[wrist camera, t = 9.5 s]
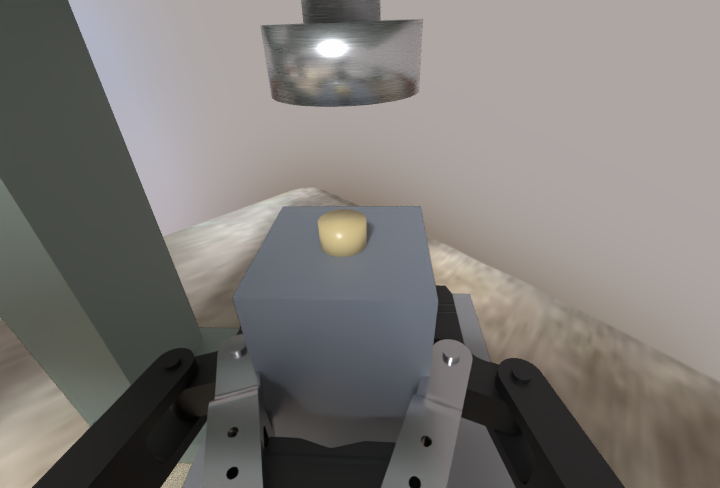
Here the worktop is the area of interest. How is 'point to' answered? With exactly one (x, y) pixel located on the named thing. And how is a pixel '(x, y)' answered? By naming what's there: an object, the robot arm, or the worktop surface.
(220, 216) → the worktop surface
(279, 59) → the press ram
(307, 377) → the block
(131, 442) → the robot arm
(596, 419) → the worktop surface
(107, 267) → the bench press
